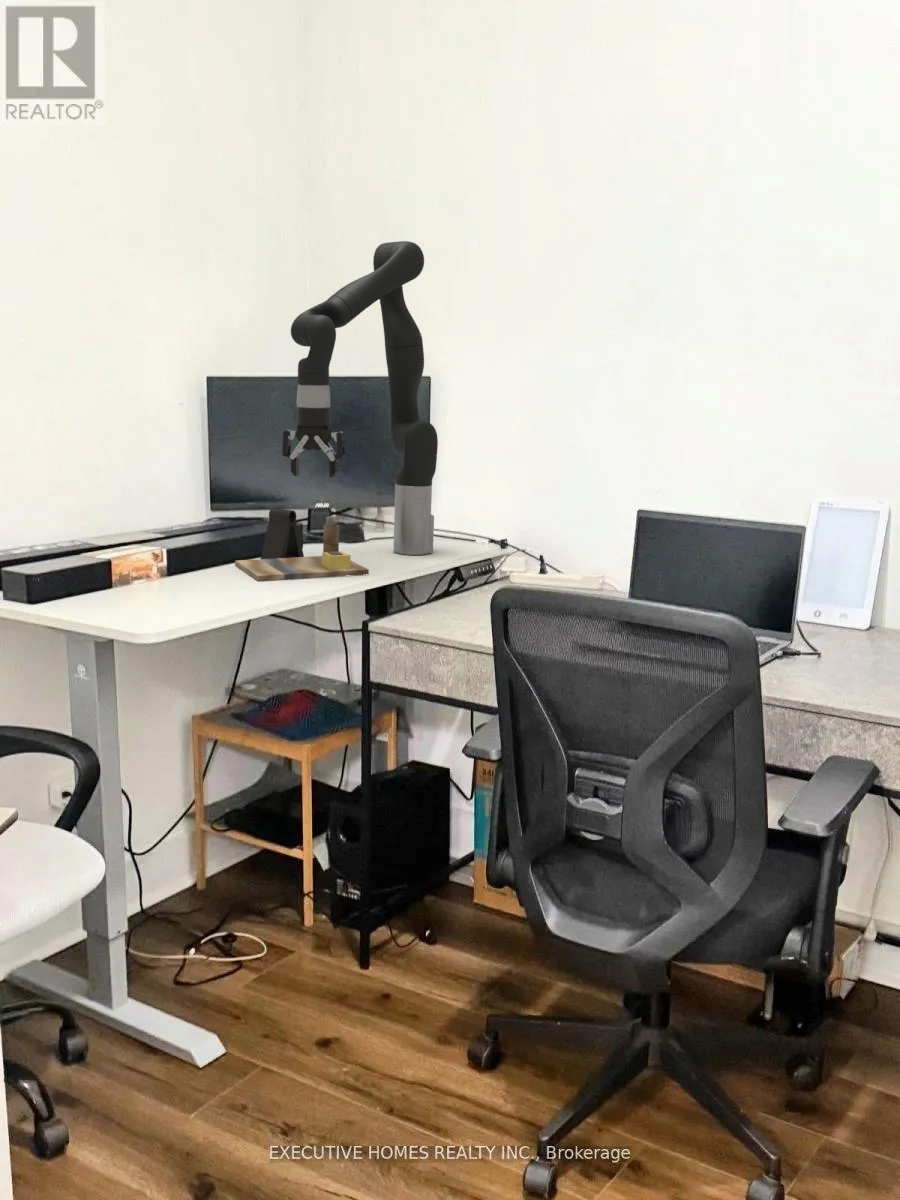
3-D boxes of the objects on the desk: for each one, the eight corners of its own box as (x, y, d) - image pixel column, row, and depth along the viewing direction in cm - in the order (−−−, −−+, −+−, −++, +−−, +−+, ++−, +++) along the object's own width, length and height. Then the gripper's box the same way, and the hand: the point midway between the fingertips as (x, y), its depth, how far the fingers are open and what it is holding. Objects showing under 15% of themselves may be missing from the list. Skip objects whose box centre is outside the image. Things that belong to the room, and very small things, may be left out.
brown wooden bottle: (335, 557, 278) (335, 515, 276) (340, 560, 275) (341, 518, 273) (321, 557, 277) (321, 516, 275) (326, 560, 274) (326, 518, 271)
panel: (340, 560, 282) (340, 555, 281) (368, 574, 266) (368, 569, 266) (235, 565, 270) (235, 560, 270) (257, 581, 255) (257, 575, 254)
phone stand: (279, 563, 275) (280, 512, 272) (260, 560, 278) (260, 510, 275) (304, 558, 282) (304, 508, 280) (284, 554, 286) (285, 506, 283)
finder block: (342, 564, 271) (342, 550, 270) (350, 568, 266) (350, 554, 265) (322, 565, 268) (322, 551, 268) (329, 569, 264) (329, 555, 263)
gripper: (348, 405, 267) (348, 475, 271) (288, 403, 269) (289, 473, 273) (339, 407, 260) (339, 479, 264) (278, 405, 262) (279, 477, 266)
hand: (313, 476), depth 268 cm, fingers open, 8 cm apart
